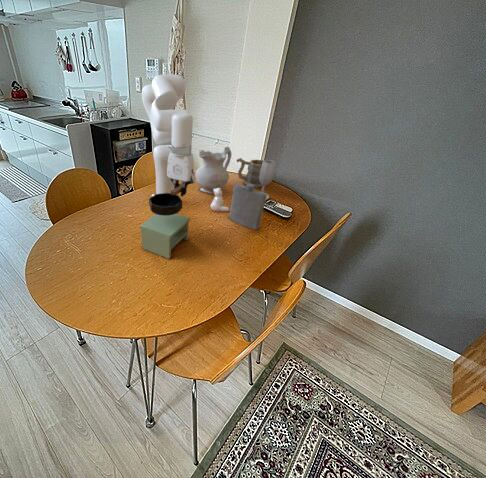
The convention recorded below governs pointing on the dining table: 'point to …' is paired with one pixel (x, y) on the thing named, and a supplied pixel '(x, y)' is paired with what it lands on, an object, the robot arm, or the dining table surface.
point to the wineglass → (266, 174)
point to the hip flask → (247, 205)
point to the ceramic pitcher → (213, 170)
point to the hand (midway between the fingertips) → (180, 194)
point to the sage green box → (164, 233)
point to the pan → (166, 202)
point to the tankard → (251, 172)
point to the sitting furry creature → (218, 201)
